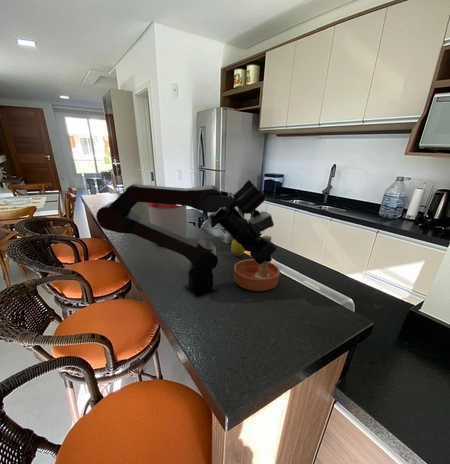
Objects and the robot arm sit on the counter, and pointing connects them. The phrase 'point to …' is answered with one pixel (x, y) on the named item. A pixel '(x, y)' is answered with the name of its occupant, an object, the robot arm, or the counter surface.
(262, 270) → the wooden pestle
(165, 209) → the citrus juicer
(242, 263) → the bowl
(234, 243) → the lemon
